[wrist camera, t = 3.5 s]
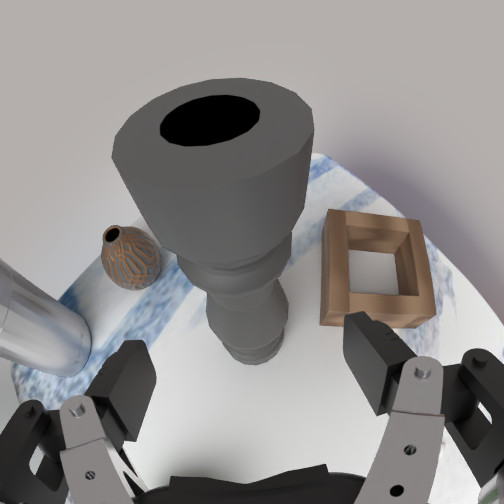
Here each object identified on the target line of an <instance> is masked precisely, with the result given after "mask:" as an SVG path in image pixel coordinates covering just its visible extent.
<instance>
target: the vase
mask: <svg viewBox="0 0 504 504" xmlns="http://www.w3.org/2000/svg"><path fill="white" fill-rule="evenodd" d="M101 257H102V263H103V266H104V269H105V271H106V273H107V274H108V276H109V277H110V278H111V279H112V280H113V281H114V282H115V283H116V284H117V285H119V286H121V287H123V288H125V289H129V290H140V289H144V288H146V287H148V286H149V285H150V284H152V283H153V282H154V281H155V279H156V278H157V276H158V274H159V272H160V267H161V257H160V252H159V249H158V247H157V245H156V243H155V242H154V240H153V239H152V238H151V237H150V236H149V235H148V234H147V233H145V232H144V231H142V230H140V229H138V228H135V227H120V226H118V225H113V226H111V227H109V228H108V229H107V230H106V231H105V232H104V234H103V247H102V253H101Z"/></svg>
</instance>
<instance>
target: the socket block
mask: <svg viewBox="0 0 504 504" xmlns="http://www.w3.org/2000/svg"><path fill="white" fill-rule="evenodd" d="M348 249H350V250H360V251H371V252H381V253H391V254H394V255H395V262H396V270H397V279H398V289H399V295H383V294H366V293H351V292H349V260H348ZM360 311H364V312H366V314H367V315H368V316H369V317H370V318H371V319H372V320H373V321H374V320H379V321H381V322H383V323H385V324H387V325H388V326H389V327H390V328H416V327H418V326H420V325H421V324H423V323H424V322H426V321H427V320H429V319H431V318H432V317H434V316H435V315H436V307H435V299H434V291H433V284H432V278H431V272H430V266H429V260H428V255H427V250H426V245H425V241H424V236H423V232H422V228H421V224H420V221H418V220H412V219H405V218H398V217H391V216H384V215H376V214H368V213H360V212H352V211H343V210H334V209H328V212H327V216H326V220H325V224H324V227H323V231H322V277H321V308H320V325H324V326H341V327H344V317H345V315H346V314H351V313H355V312H360Z"/></svg>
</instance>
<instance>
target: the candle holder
mask: <svg viewBox="0 0 504 504" xmlns="http://www.w3.org/2000/svg"><path fill="white" fill-rule="evenodd" d="M313 137H314V123H313V116H312V109H311V108H310V107H309V106H308V105H307V104H306V103H305V102H304V101H303V100H302V99H301V98H300V97H299V96H298V95H297V94H296V93H295V92H293V91H290V90H288V89H286V88H283V87H281V86H278V85H276V84H274V83H271V82H266V81H260V80H253V79H246V78H229V79H212V80H207V81H202V82H198V83H194V84H190V85H186V86H182V87H179V88H177V89H174V90H172V91H170V92H168V93H165V94H163V95H161V96H159V97H157V98H155V99H153V100H151V101H150V102H149V103H147V104H146V105H144V106H143V107H142V108H140V109H139V110H138V111H136V112H135V113H134V114H133V115H131V116H130V117H129V118H128V120H127V121H126V122H125V124H124V125H123V126H122V128H121V129H120V130H119V132H118V133H117V135H116V136H115V140H114V145H113V152H112V159H113V162H114V164H115V166H116V168H117V170H118V172H119V173H120V175H121V177H122V179H123V181H124V183H125V185H126V187H127V189H128V190H129V192H130V194H131V196H132V198H133V200H134V201H135V203H136V205H137V207H138V209H139V210H140V212H141V214H142V216H143V217H144V219H145V221H146V223H147V224H148V226H149V228H150V229H151V231H152V232H153V233H154V235H155V236H156V238H157V239H158V241H159V242H160V244H161V245H162V246H163V248H165V249H167V250H169V251H171V252H173V253H175V254H176V255H177V261H178V265H179V267H180V268H181V270H182V271H183V272H184V274H185V275H186V276H187V278H188V279H189V280H190V282H191V283H192V284H193V285H194V286H196V287H198V288H200V289H202V290H204V291H206V292H207V304H206V314H207V318H208V322H209V326H210V328H211V329H212V330H213V332H214V333H215V334H216V336H217V337H218V338H219V339H220V341H222V344H223V345H224V347H225V348H226V349H227V350H228V352H229V353H230V354H231V355H232V357H233V358H234V359H236V360H238V361H239V362H241V363H243V364H248V365H259V364H262V363H265V362H268V361H269V360H270V359H271V358H273V357H274V356H275V355H276V354H277V352H278V350H279V348H280V346H281V344H282V340H283V332H284V326H285V324H286V322H287V318H288V301H287V299H286V296H285V293H284V291H283V288H282V287H281V285H280V283H279V281H278V279H277V278H278V277H279V276H280V275H281V273H282V271H283V269H284V267H285V266H286V264H287V262H288V260H289V258H290V256H291V241H292V232H291V231H292V229H293V228H294V226H295V224H296V222H297V220H298V218H299V216H300V215H301V213H302V211H303V209H304V204H305V197H306V191H307V183H308V176H309V169H310V161H311V153H312V145H313Z"/></svg>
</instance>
